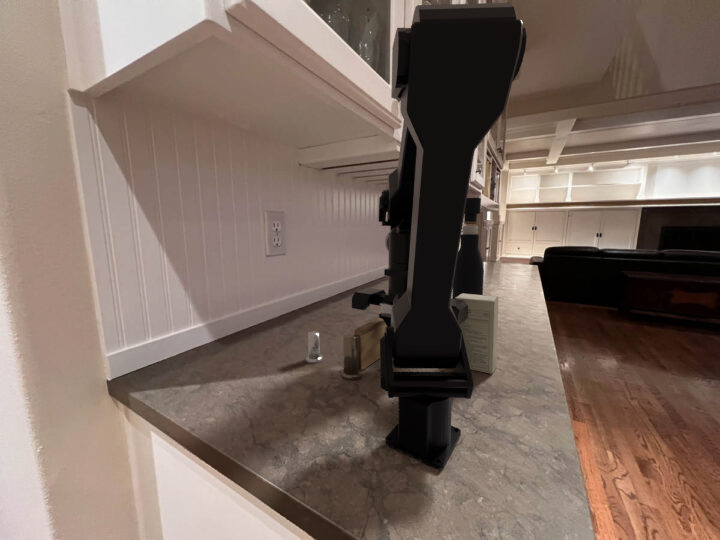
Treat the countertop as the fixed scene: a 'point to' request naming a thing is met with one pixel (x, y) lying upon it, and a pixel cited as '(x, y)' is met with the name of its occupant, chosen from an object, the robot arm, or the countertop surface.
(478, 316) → the skincare box
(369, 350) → the gate
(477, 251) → the wine bottle
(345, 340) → the hinge post
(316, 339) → the post
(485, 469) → the countertop surface
